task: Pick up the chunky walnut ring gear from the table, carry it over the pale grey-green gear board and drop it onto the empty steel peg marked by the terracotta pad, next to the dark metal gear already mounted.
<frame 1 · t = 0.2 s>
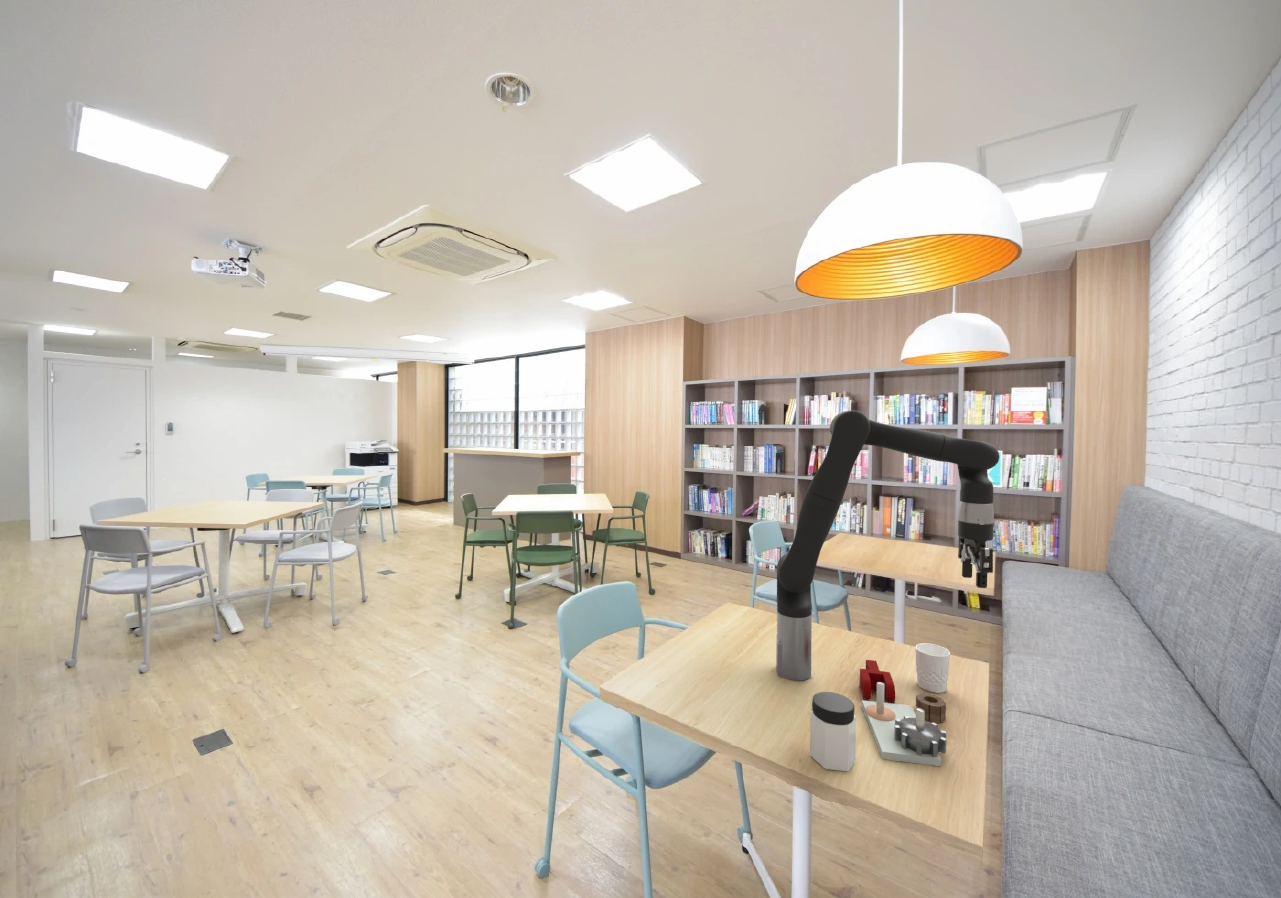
hand: (973, 582, 129), 29 cm above the table, fingers open, 8 cm apart
jar: (832, 759, 104), on the table
fixed gear: (919, 749, 106), resting on board
board: (897, 733, 112), on the table
white cup: (931, 687, 132), on the table
mechanical linkage: (874, 689, 132), on the table
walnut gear: (930, 716, 119), on the table
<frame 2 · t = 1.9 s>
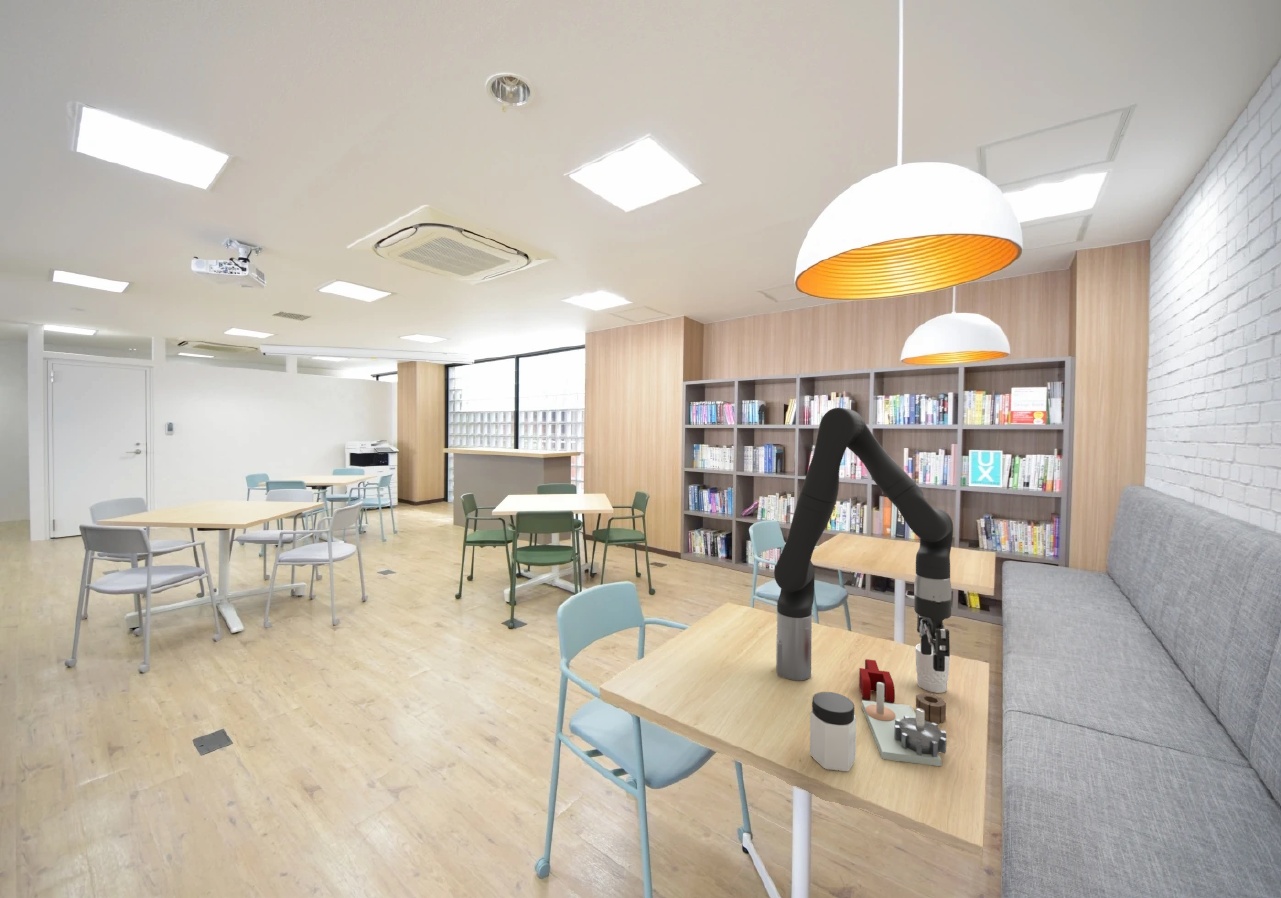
hand: (932, 662, 118), 13 cm above the table, fingers open, 8 cm apart
nothing on the table moved.
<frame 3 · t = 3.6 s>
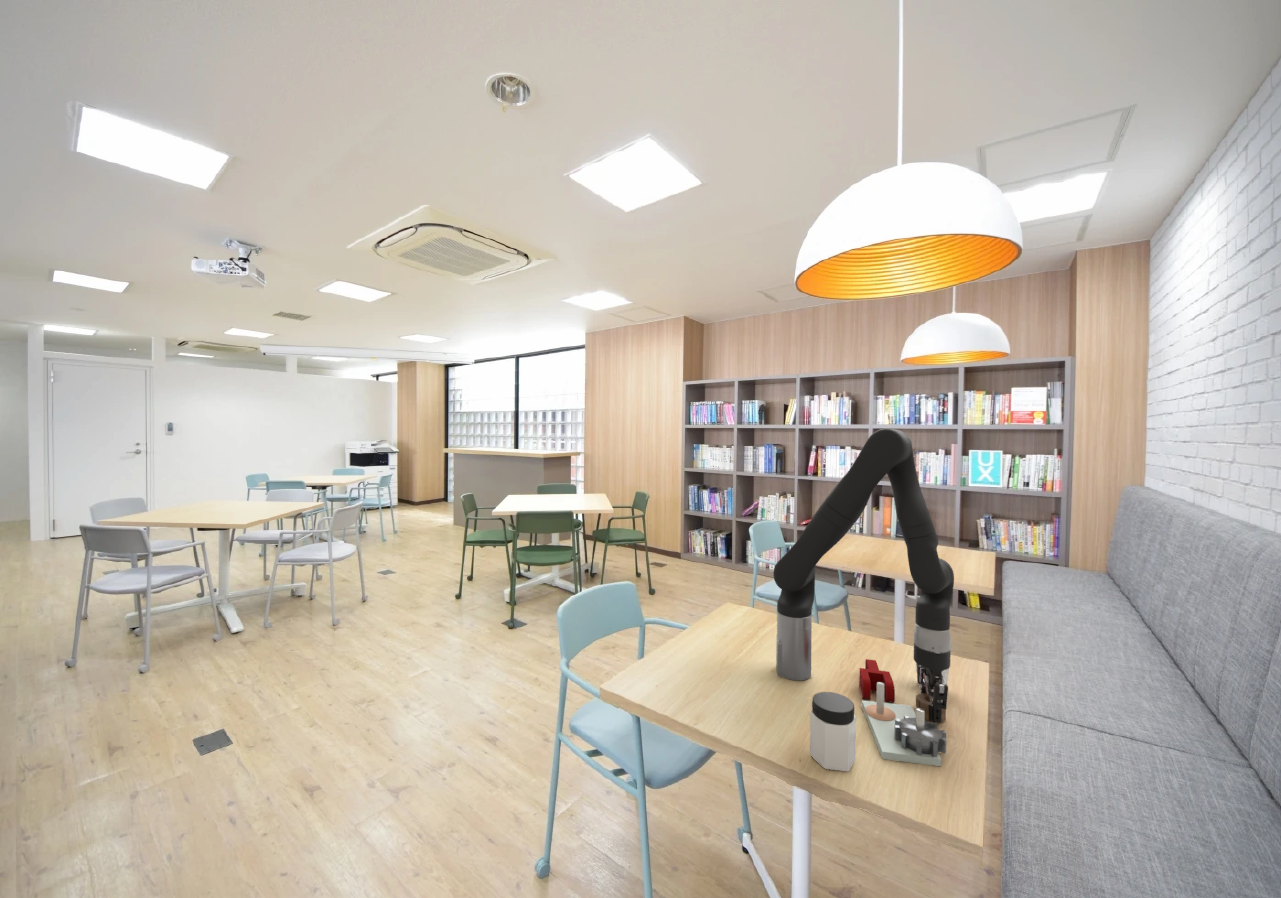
hand: (930, 713, 119), 1 cm above the table, fingers closed on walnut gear, 5 cm apart
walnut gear: (930, 716, 119), on the table, touching gripper
everything else where it was.
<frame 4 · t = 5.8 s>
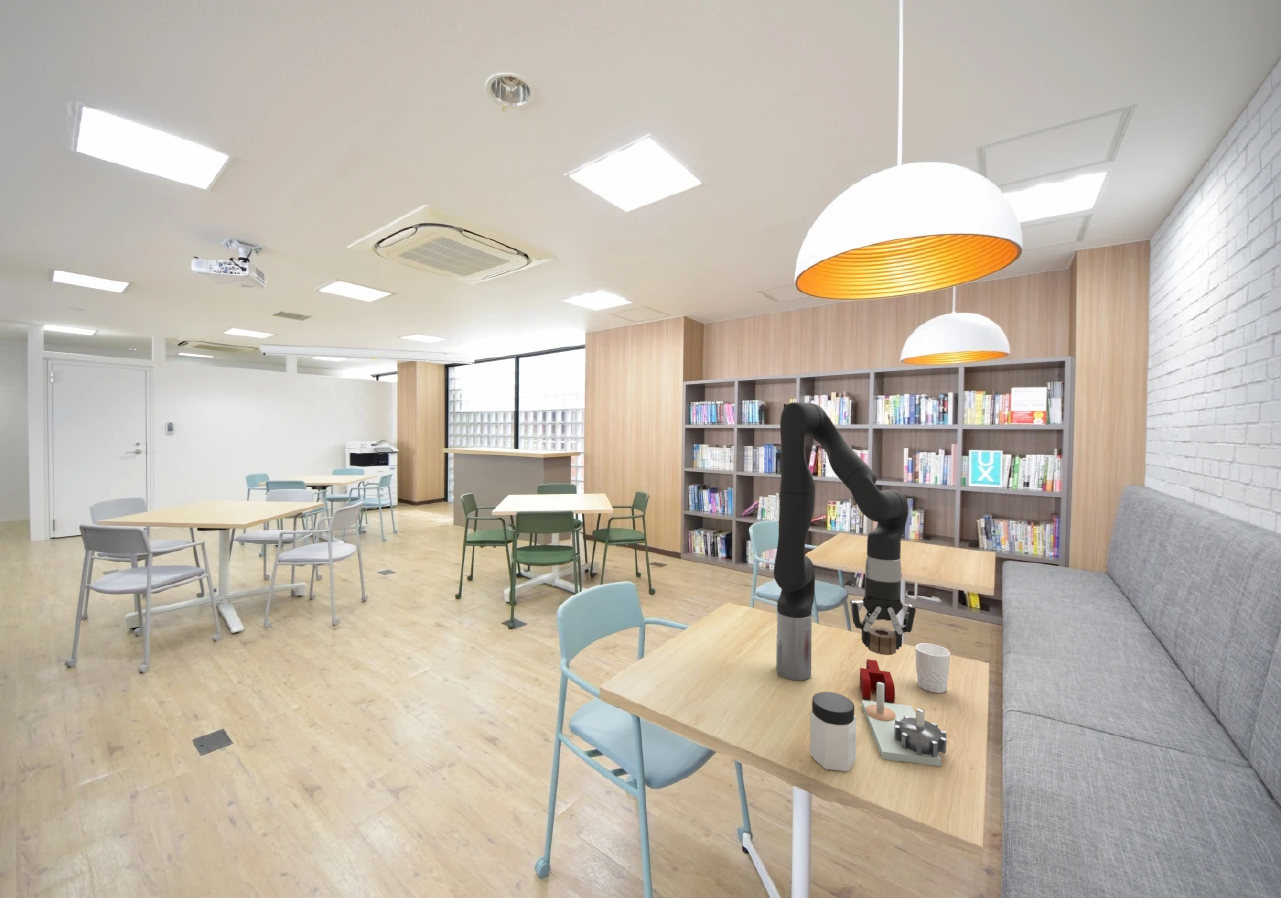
hand: (881, 646, 117), 17 cm above the table, fingers closed on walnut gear, 5 cm apart
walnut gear: (881, 649, 117), point 17 cm above the table, touching gripper
everything else where it was.
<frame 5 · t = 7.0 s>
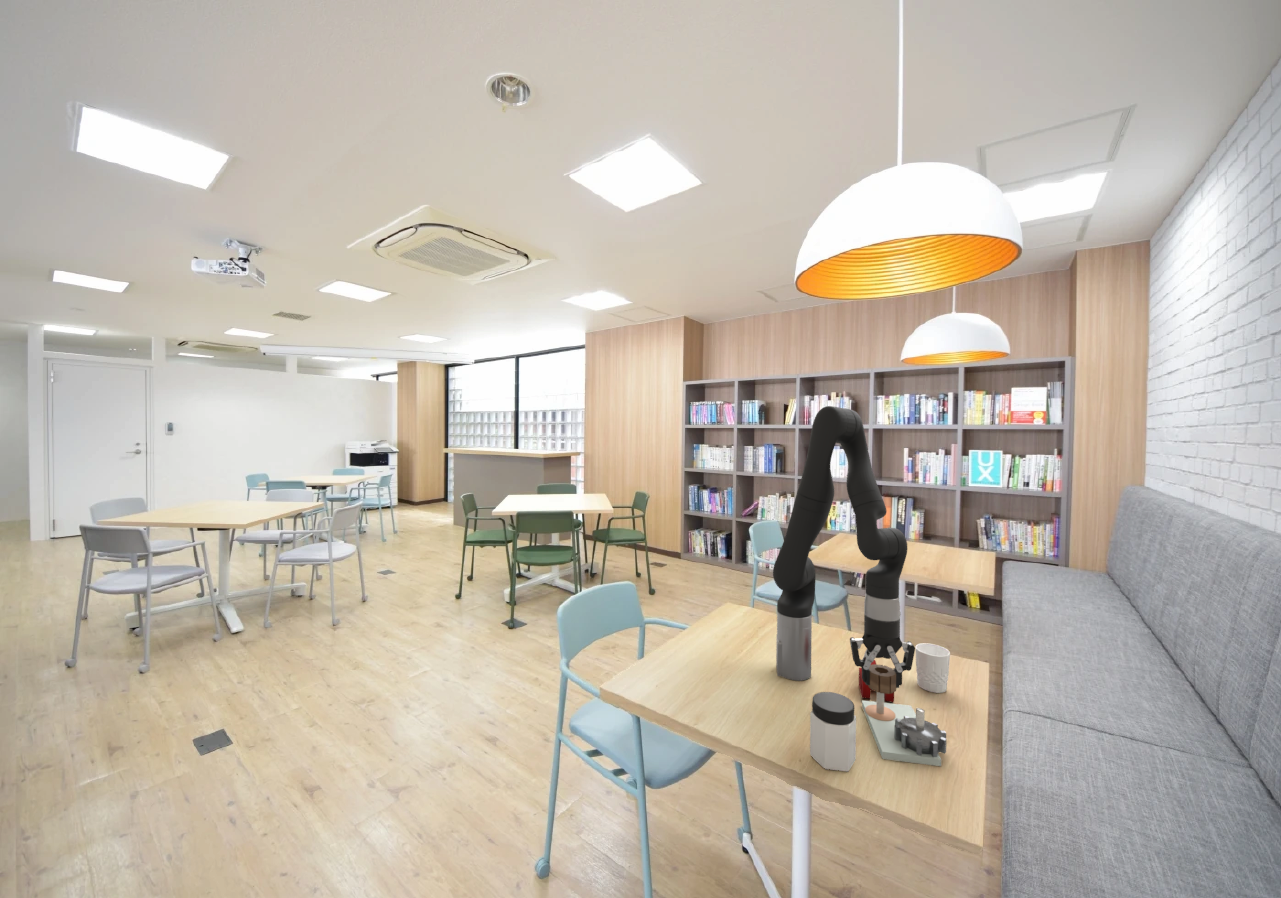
hand: (881, 684, 117), 8 cm above the table, fingers closed on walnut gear, 5 cm apart
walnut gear: (881, 687, 117), point 8 cm above the table, touching gripper
everything else where it was.
when the fingers open (5 cm above the table, at t = 8.1 s): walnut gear drops 3 cm, resting on board.
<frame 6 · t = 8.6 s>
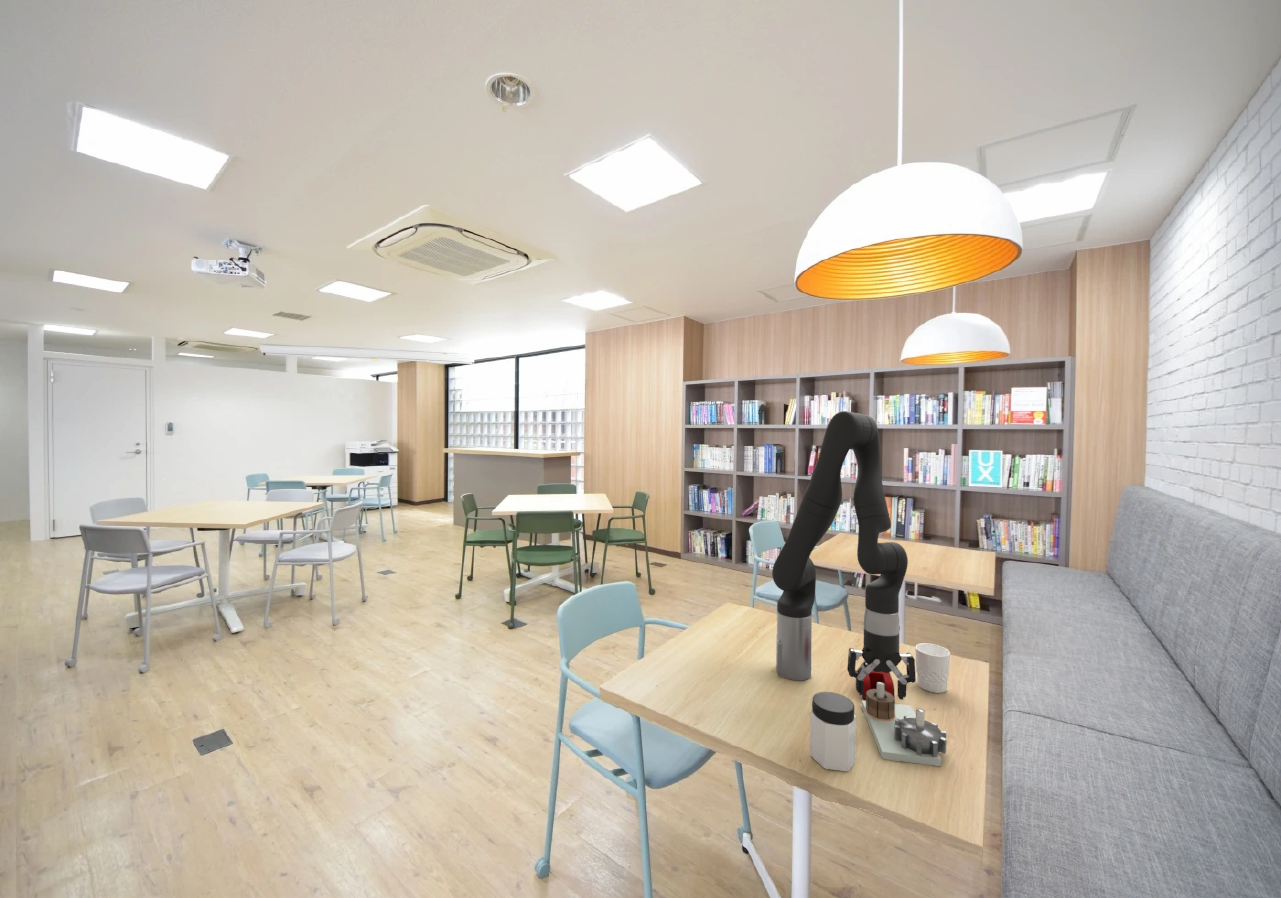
hand: (880, 696, 117), 6 cm above the table, fingers open, 8 cm apart
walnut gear: (879, 712, 117), point 2 cm above the table, touching board
everything else where it was.
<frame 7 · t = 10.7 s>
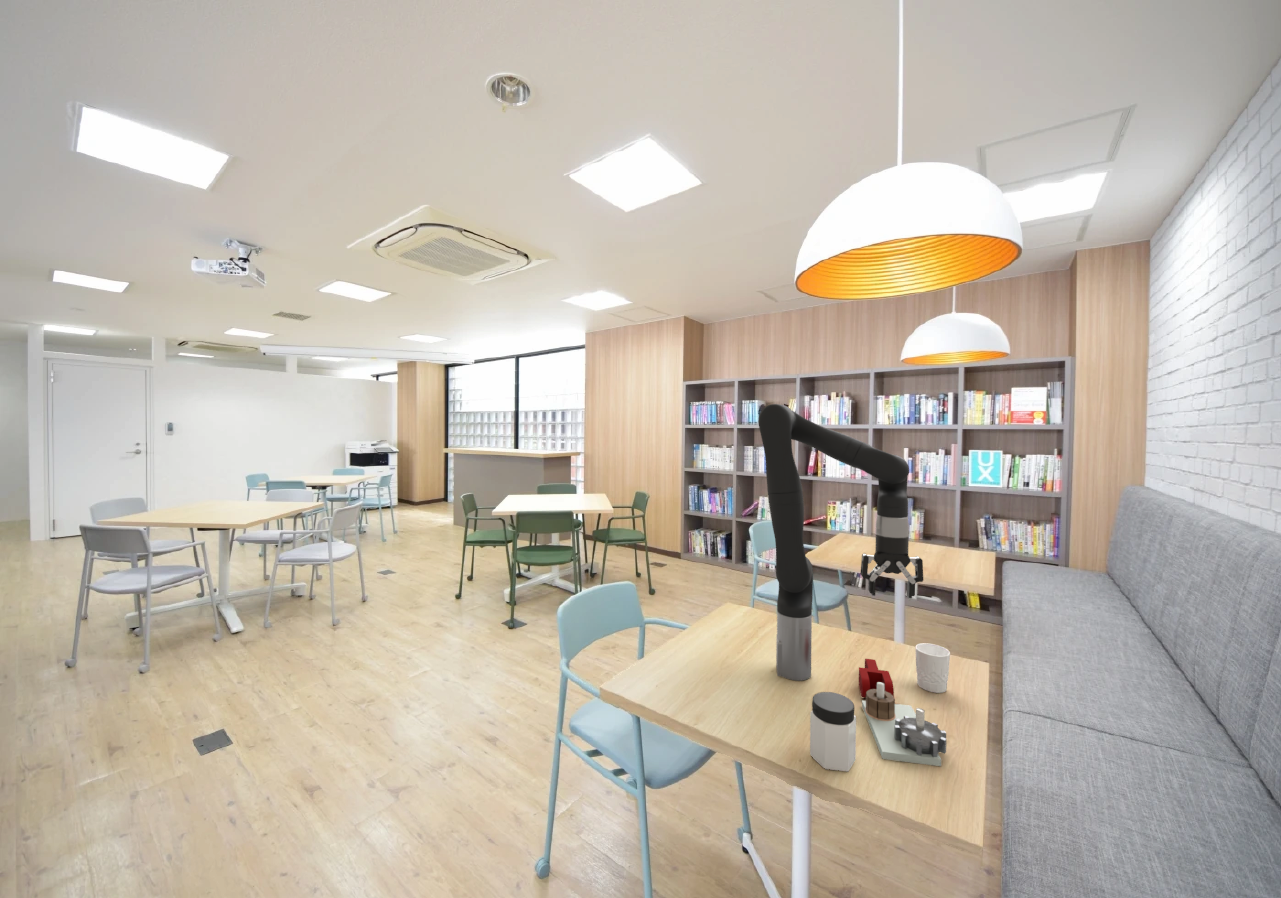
hand: (890, 596, 128), 25 cm above the table, fingers open, 8 cm apart
nothing on the table moved.
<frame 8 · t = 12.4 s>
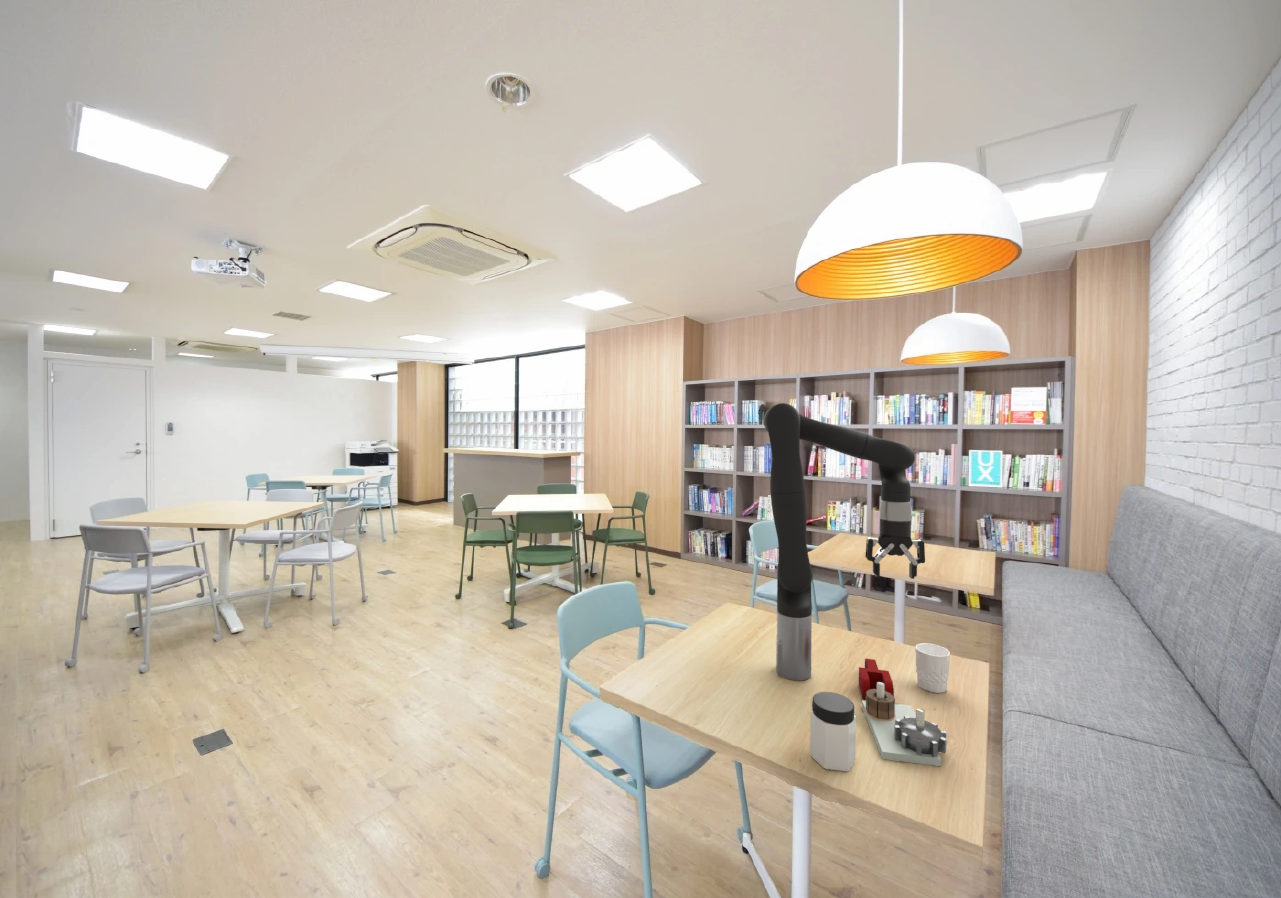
hand: (894, 577, 135), 28 cm above the table, fingers open, 8 cm apart
nothing on the table moved.
at the end: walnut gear 0.1 cm from the target spot on the board, point 1.7 cm above the board's base; the gripper is holding nothing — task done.
